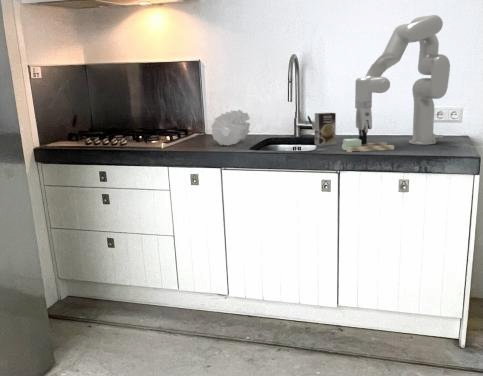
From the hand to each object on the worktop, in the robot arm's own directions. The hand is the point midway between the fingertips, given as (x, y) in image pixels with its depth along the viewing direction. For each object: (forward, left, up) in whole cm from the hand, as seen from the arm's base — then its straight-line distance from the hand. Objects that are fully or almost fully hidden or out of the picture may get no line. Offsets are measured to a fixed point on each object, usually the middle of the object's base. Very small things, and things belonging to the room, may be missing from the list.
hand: (362, 143), depth 242 cm
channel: (-2, 0, -3) cm, 4 cm away
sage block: (+5, 0, -3) cm, 6 cm away
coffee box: (+13, -21, -3) cm, 25 cm away
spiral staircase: (+59, -43, -3) cm, 73 cm away
